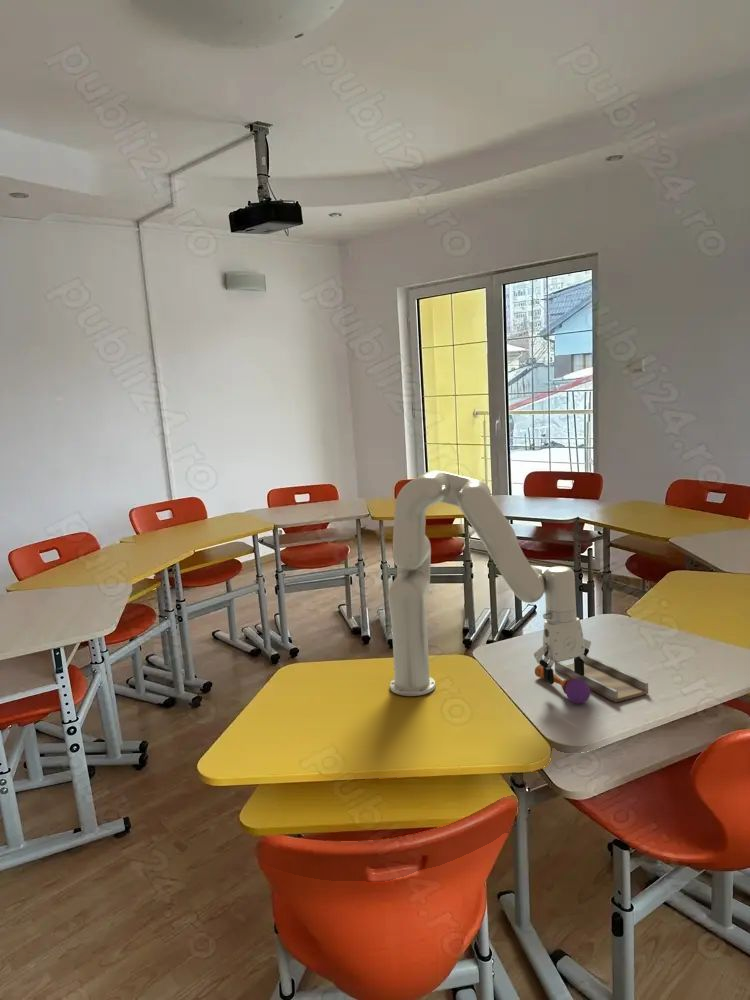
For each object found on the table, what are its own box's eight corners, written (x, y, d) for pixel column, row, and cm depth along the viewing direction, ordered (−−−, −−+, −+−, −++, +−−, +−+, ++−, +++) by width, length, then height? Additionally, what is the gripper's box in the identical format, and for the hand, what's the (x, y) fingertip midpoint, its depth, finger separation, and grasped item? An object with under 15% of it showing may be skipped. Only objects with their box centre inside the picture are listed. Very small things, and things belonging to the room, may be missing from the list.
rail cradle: (554, 670, 188) (554, 661, 188) (585, 663, 192) (584, 654, 192) (615, 702, 166) (615, 691, 166) (648, 693, 170) (648, 682, 170)
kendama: (550, 660, 185) (596, 682, 166) (548, 681, 185) (594, 706, 166) (531, 660, 183) (576, 683, 164) (529, 681, 183) (573, 707, 164)
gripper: (542, 624, 165) (545, 690, 167) (598, 612, 172) (600, 675, 174) (524, 617, 172) (528, 680, 174) (578, 605, 179) (581, 666, 181)
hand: (564, 678), depth 174 cm, fingers open, 9 cm apart
